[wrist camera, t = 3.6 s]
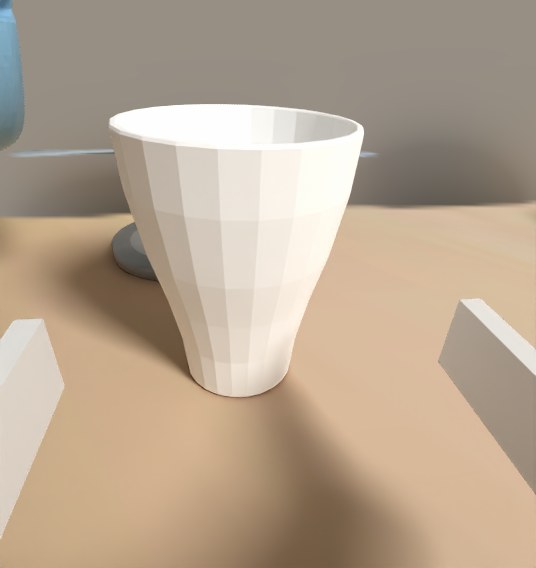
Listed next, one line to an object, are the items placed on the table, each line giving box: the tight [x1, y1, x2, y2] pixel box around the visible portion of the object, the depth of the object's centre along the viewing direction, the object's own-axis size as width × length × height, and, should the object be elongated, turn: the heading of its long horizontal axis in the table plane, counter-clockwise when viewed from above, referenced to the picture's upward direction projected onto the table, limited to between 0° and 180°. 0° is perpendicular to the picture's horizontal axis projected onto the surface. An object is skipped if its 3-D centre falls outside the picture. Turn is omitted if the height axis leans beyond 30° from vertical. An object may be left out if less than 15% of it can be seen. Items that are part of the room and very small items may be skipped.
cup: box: [108, 104, 364, 397], centre depth 20 cm, size 10×10×14 cm
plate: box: [112, 222, 159, 281], centre depth 36 cm, size 12×12×1 cm
